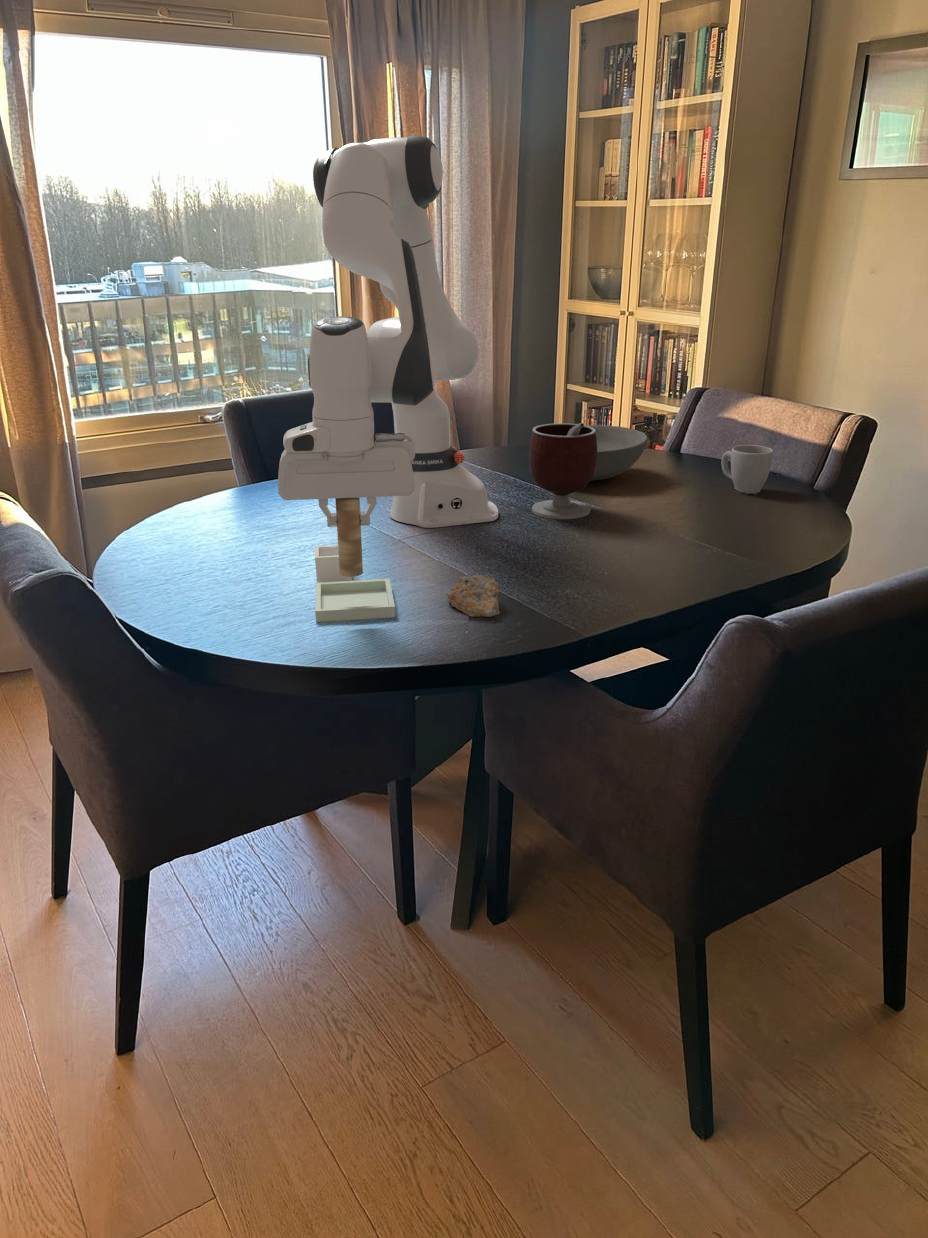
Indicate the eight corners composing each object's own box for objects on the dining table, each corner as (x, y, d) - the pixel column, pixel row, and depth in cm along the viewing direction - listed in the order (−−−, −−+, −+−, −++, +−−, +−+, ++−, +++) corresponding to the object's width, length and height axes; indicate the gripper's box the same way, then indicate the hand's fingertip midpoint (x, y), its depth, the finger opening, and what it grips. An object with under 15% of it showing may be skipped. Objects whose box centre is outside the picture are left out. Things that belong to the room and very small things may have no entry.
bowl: (653, 491, 206) (657, 447, 203) (536, 491, 207) (537, 447, 203) (635, 463, 231) (637, 423, 227) (530, 463, 231) (531, 423, 227)
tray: (390, 591, 151) (389, 578, 150) (395, 620, 140) (394, 606, 139) (316, 595, 150) (315, 582, 149) (316, 625, 139) (315, 611, 138)
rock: (446, 597, 150) (442, 610, 140) (455, 563, 148) (452, 573, 138) (497, 611, 150) (497, 624, 140) (507, 577, 148) (507, 588, 139)
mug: (776, 492, 205) (781, 449, 202) (752, 499, 200) (757, 455, 197) (731, 481, 214) (736, 440, 210) (707, 487, 209) (712, 445, 205)
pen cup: (351, 574, 158) (349, 544, 156) (352, 587, 153) (350, 555, 151) (317, 576, 158) (315, 546, 156) (317, 588, 152) (315, 557, 150)
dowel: (362, 568, 144) (359, 494, 140) (363, 576, 141) (359, 500, 136) (339, 569, 144) (335, 495, 139) (339, 577, 141) (335, 501, 136)
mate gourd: (518, 504, 197) (520, 411, 189) (577, 498, 201) (581, 407, 193) (546, 525, 184) (549, 425, 176) (608, 518, 188) (614, 420, 180)
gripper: (413, 428, 138) (414, 516, 144) (275, 432, 136) (282, 521, 141) (416, 436, 132) (418, 528, 138) (273, 441, 130) (280, 534, 135)
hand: (348, 525), depth 139 cm, fingers closed on dowel, 4 cm apart
